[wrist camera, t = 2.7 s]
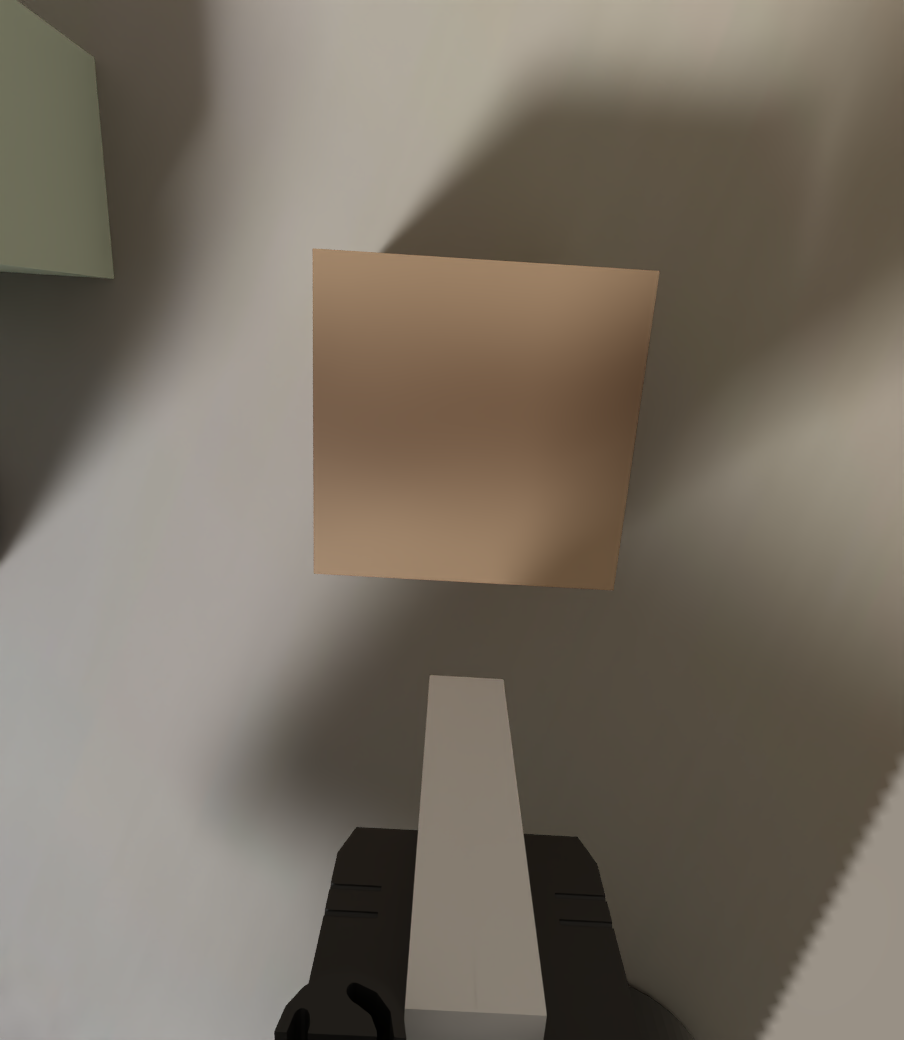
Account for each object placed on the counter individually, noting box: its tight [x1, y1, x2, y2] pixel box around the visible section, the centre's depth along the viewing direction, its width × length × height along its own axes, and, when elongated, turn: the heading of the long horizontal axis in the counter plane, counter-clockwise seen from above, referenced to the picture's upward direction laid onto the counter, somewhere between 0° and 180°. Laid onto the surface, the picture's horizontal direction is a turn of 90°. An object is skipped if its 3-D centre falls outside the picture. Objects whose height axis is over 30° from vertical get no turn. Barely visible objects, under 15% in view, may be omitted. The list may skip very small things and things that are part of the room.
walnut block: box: [313, 249, 660, 590], centre depth 15 cm, size 6×6×6 cm
